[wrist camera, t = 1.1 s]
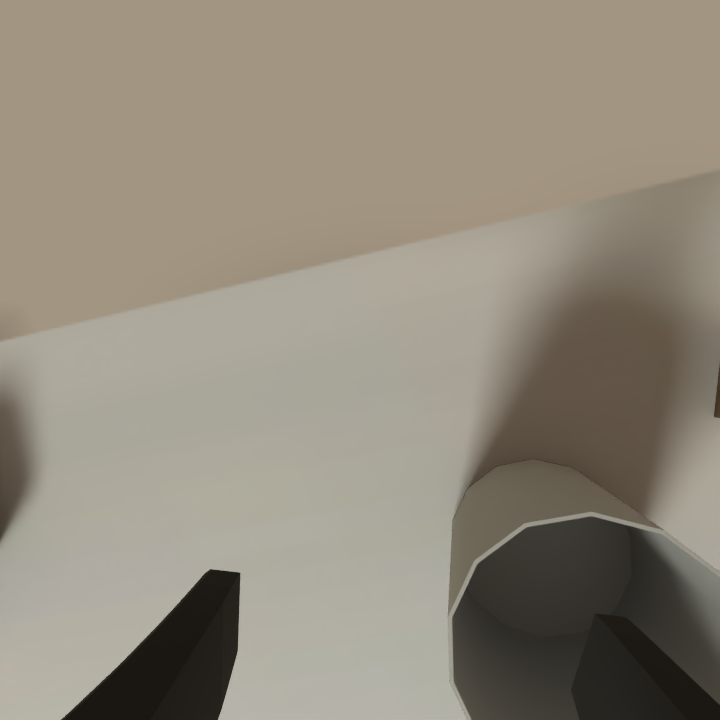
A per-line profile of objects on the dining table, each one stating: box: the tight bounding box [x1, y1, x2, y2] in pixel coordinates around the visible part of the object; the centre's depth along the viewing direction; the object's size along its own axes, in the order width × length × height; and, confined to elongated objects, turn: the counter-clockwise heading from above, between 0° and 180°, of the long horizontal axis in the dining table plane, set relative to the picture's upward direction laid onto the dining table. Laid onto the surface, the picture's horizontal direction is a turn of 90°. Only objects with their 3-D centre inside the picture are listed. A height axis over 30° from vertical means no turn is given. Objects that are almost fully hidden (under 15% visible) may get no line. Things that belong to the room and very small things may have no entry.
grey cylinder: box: [448, 459, 720, 720], centre depth 17 cm, size 8×8×10 cm
